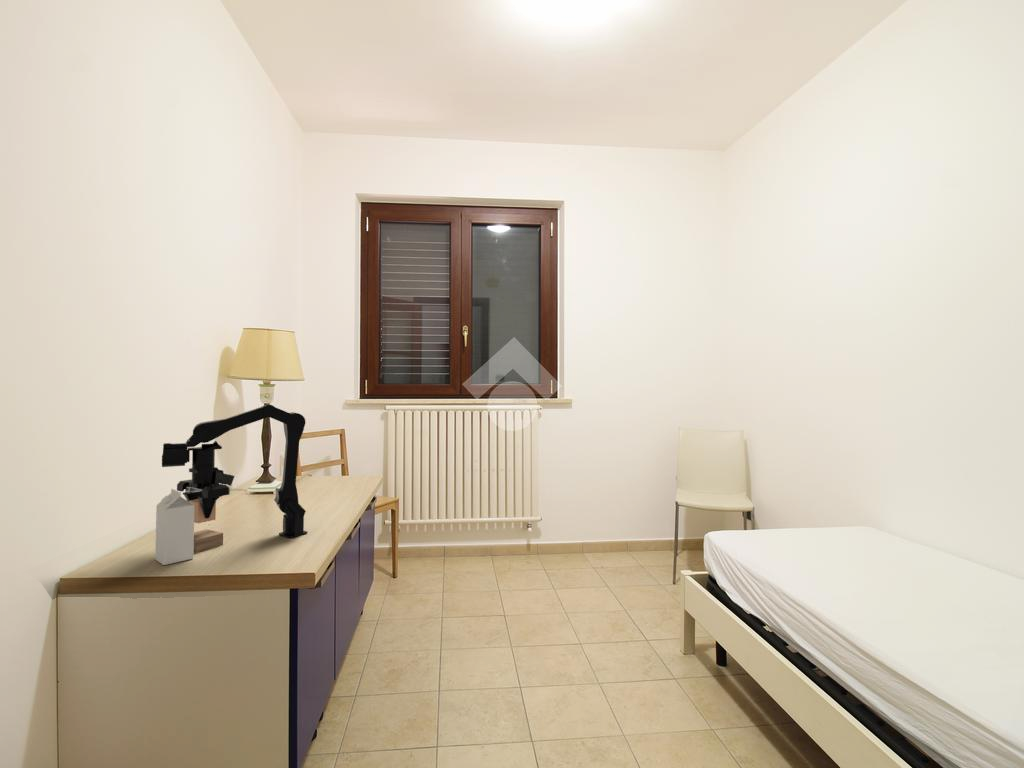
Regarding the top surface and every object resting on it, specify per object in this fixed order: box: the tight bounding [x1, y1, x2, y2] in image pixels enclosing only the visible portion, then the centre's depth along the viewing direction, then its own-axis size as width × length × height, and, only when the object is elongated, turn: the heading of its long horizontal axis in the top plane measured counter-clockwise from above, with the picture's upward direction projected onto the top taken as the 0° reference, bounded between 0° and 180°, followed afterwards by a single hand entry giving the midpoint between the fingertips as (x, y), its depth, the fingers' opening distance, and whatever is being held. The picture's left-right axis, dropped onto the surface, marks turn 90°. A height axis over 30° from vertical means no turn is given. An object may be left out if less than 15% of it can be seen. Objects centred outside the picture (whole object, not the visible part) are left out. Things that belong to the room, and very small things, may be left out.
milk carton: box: [154, 488, 195, 566], centre depth 138 cm, size 7×7×19 cm
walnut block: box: [193, 528, 224, 554], centre depth 149 cm, size 8×8×4 cm
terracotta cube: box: [189, 499, 217, 524], centre depth 149 cm, size 5×5×6 cm
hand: (202, 516), depth 149 cm, fingers closed on terracotta cube, 5 cm apart
